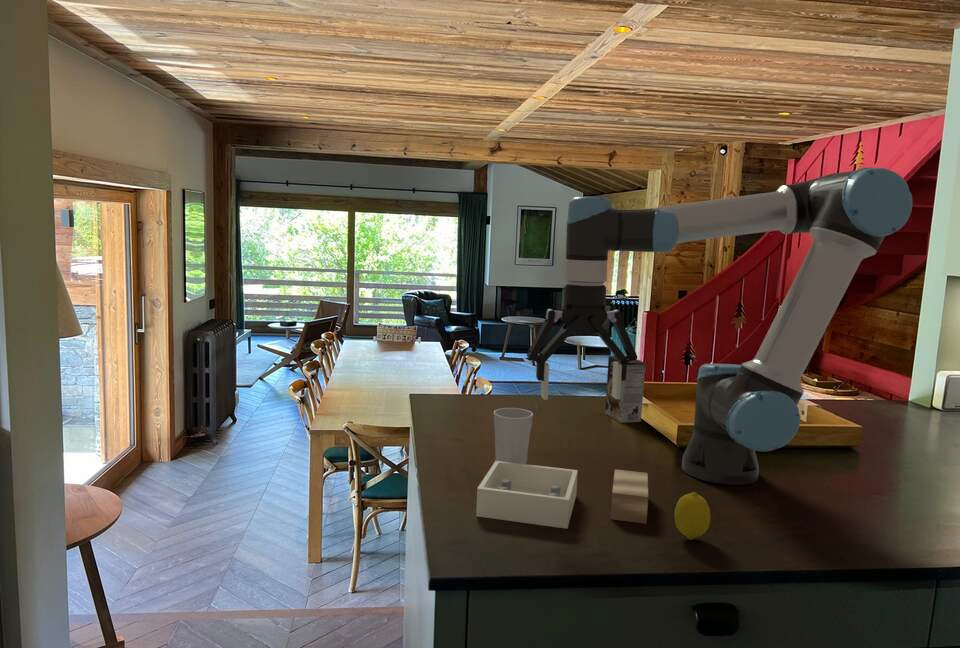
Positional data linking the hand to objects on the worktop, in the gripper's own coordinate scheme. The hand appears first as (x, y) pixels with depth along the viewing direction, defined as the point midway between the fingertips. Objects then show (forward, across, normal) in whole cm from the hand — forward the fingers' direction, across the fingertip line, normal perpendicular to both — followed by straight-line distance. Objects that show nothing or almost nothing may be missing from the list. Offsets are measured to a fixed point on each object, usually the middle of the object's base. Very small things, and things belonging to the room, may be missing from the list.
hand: (580, 397), depth 126 cm
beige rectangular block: (+19, -8, +7) cm, 22 cm away
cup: (+18, +10, -12) cm, 24 cm away
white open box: (+18, +10, +6) cm, 22 cm away
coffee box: (+19, -26, -51) cm, 60 cm away
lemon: (+19, -14, +20) cm, 31 cm away
